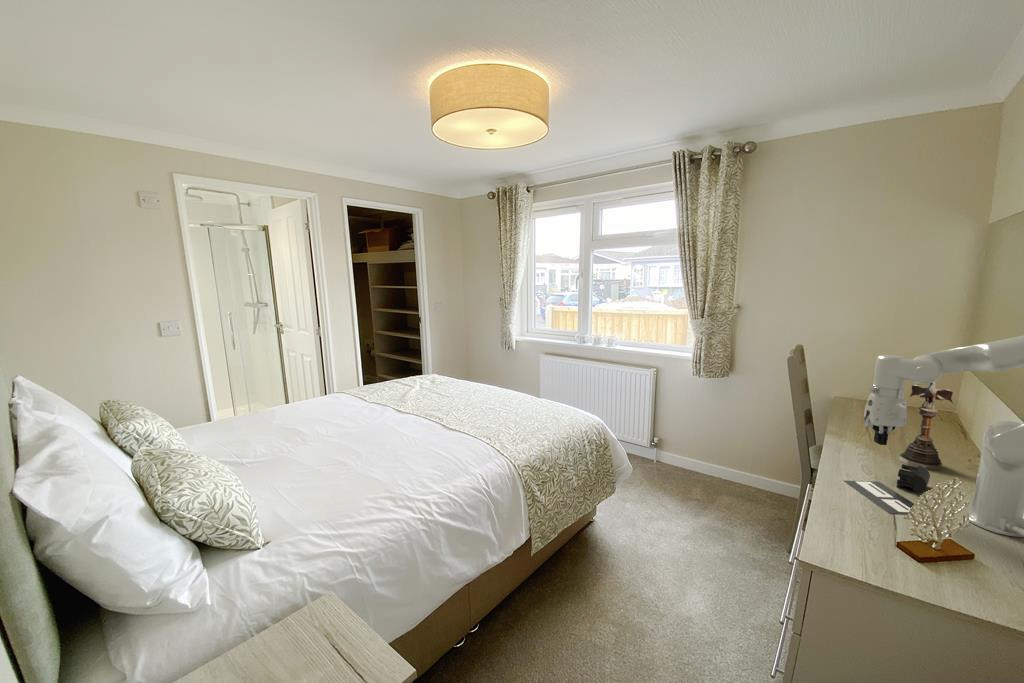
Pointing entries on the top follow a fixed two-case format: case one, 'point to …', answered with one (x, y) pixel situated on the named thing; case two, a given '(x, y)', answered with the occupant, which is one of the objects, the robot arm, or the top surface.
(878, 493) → the far label
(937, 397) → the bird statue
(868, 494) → the label panel
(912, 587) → the top surface
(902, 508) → the near label
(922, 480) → the end cap
